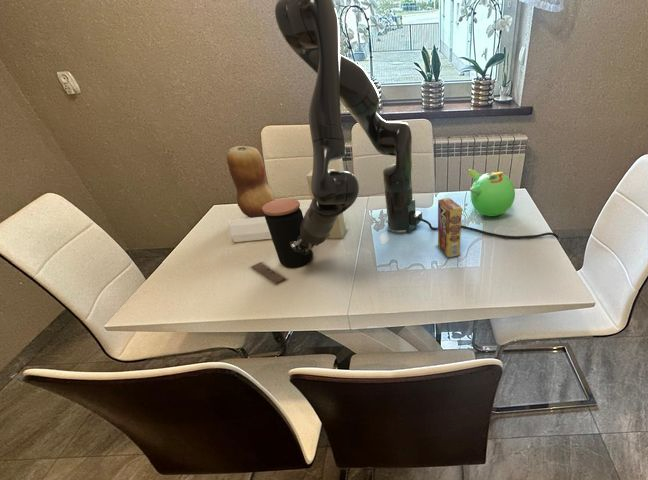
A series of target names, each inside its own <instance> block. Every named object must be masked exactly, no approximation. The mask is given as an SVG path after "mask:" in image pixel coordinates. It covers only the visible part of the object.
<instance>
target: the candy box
mask: <svg viewBox="0 0 648 480" xmlns="http://www.w3.org/2000/svg"><path fill="white" fill-rule="evenodd" d="M437 203H438V204H437V228H438V230H437V247H438V248H439V249H440V250H441V251H442V253H444V255H445V256H446V257H447V258H454V257H457V256H460V252H461V251H460V250H461V235H462V234H461V233H462V228H461V225H462V213H463V208H462V207H461V205H459V204H457V202H456V201H454V200H453V199H452V198H450V197H445V198H441V199H438V200H437Z"/></svg>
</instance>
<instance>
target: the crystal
mask: <svg viewBox="0 0 648 480" xmlns="http://www.w3.org/2000/svg"><path fill="white" fill-rule="evenodd" d="M227 233H228V235H229V237H230V238H231V239H232V241H233V242H234V243H239V242H250V241H261V240H269V239H271V240H272V237H271V234H270V231H269V228H268V225H267V222H266V219H265V217H255V218H250V217H245V218H235V219H229V222H228V226H227Z"/></svg>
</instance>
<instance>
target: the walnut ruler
mask: <svg viewBox="0 0 648 480" xmlns="http://www.w3.org/2000/svg"><path fill="white" fill-rule="evenodd" d="M251 267H252V268H253V270H256V271H257V272H258V273H259V274H262V275H263V276H264V277H266V278H267V279H268V280H270V281H271V282H273V283H275V284H276V285H278V284H280V283H282V282H284V281H286V278H285V277H283V276H282V275H280V274H279V273H277V272H276V271H274V270H272V269H271V268H270V267H268V266H267V265H265V264H264V263H262V262H258V263H256V264H254V265H252V266H251Z"/></svg>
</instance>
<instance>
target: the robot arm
mask: <svg viewBox="0 0 648 480" xmlns="http://www.w3.org/2000/svg"><path fill="white" fill-rule="evenodd" d="M337 13H338V12H337V9H336V6H335V3H334V1H333V0H277V1H276V4H275V7H274V16H275V21H276V24H277V27H278V30H279V31H280V33H281V35H282V37H283V38H284V40H285V42H286V43H287V44H288V46H289V47H290V49H292V51H293V52H294V53H295V54H296V55H297V56H298V57H299V58H300V59H301V60H302V61H303V62H304V63H305V64H306V65H307V66H309V67H310V69H311V70H312V71H314V72H315V74H316V79H315V83H314V88H313V91H312V95H311V98H310V104H309V107H308V124H309V131H310V138H311V145H312V153H313V154H312V156H313V157H312V170H313V171H312V180H311V191H312V194H313V197H314V198H313V200H312V199H311V202H310V204H309V206H308V208H307V210H306V211H305V214H304V215H303V220H302V223H301V225H300V236H299V237H298V238H297V239H298V241H294V242H293V241H291V242H290V243H289V244H290V246H291V247H292V249H293V250H294V251H296V252H299V253H301V254H302V255H303V256H305V255H307V254H308V253H309V251H310V249H312V250H313V249H314V248H315V247H318V246H319V245H321V244H323V243H324V242H326V240H327V239H328V238H327V237H329V236H330V234H329V233H330V232H331V230H332V228H333V226H334V222H335V221H336V219H337V217H338V216H339V215H340V214H342V213H343V214H344V212H346V211H347V210H348V209H349V208H351V207H352V206H353V205H354V203H355V202H356V201H357V199H358V196H359V190H360V184H359V181H358V179H357V177H356V175H354V174H353V173H352V172H350V171H346V170H336V171H328V169H329V165H330V163H331V162H333V161H338V160H341V159H342V158H344V157H345V155H346V144H345V135H344V128H343V121H342V112H341V104H342V106H343V107H344V108H345V109H346V111H347V112H348V113H349V114H350V115H351V117H353V118H354V120H355V121H356V122H357V124H358V125H359V126H360V128H361V129H362V130H363V131H364V133H365V134H366V136H367V137H368V139H369V141H370V142H371V144H372V146H373V147H374V149H375V150H376V151H377V152H378V153H379V154H381V155H383V156H388V157H395V163H394V164H391V165H388V166H386V167H385V168H384V169H383V170H382V178H383V187H384V197H385V205H386V206H385V207H386V216H387V217H386V218H387V220H386V221H387V228H388V231H389V232H390V233H393V234H410V233H411V232H412V231H413V230H415V228H416V227H417V226H418V225H419V224H420V223H421V222H423V223H425V224H427V225H428V227H429V229H431V230H432V231H438V227H433V226H432V224H431V222H430V221H428V220H427V219H424V218H423V211H419V210H417V209H416V199H414V198H413V181H412V170H413V154H412V153H413V137H412V130H411V128H410V126H409V124H408V123H407V122H403V121H388V120H387V121H386V120H385V119H383V118H382V117H381V116H380V115H379V113H378V112H379V106H380V96H379V91H378V89H377V87H376V86H375V84H374V82H373V80H371V77H370V75H369V74H368V73H367V72H366V70H364V68H363V67H362V66H361V65H359V64H357V63H356V62H355V61H353V60H351V59H349V58H348V57H345V56H343V55H342V54H340V52H341V51H340V50H341V47H340V45H341V44H340V39H341V38H340V25H339V19H338V14H337ZM461 229H465V230H470V231H473V232H477V233H480V234H484V235H488V236H493V237H497V238H504V239H513V240H514V239H535V238H540V237H545V236H553V237H555V238H556V239H559V238H560V237H559V235H558V234H557V233H554V232H550V231H549V232H543V233H539V234H533V235H532V234H530V235H529V234H528V235H507V234H499V233H494V232H490V231H485V230H482V229H478V228H475V227H470V226H466V225H462V224H461Z"/></svg>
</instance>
